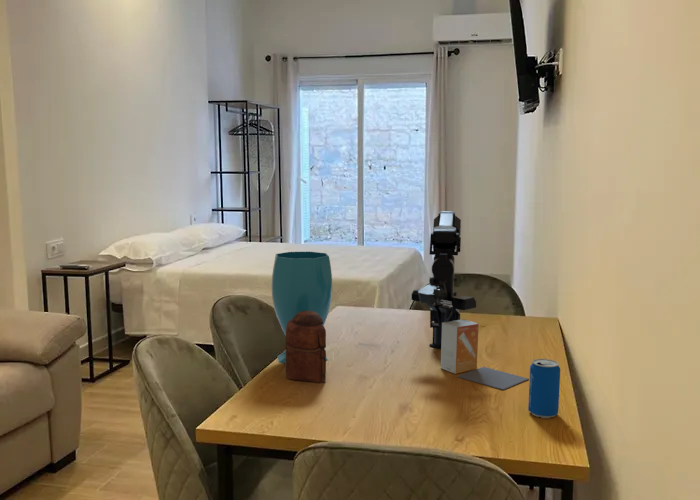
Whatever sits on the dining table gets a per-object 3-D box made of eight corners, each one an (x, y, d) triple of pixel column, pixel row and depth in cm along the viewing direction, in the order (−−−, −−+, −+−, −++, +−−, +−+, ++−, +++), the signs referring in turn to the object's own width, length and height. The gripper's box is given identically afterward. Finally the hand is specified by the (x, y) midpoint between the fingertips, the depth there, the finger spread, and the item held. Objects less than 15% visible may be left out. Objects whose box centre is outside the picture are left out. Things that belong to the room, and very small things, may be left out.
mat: (457, 377, 173) (457, 375, 172) (483, 367, 181) (483, 366, 181) (503, 390, 163) (503, 389, 162) (528, 379, 171) (528, 378, 171)
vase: (336, 365, 182) (336, 258, 178) (273, 368, 179) (272, 259, 175) (327, 348, 199) (328, 250, 195) (270, 350, 196) (270, 251, 192)
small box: (455, 374, 175) (457, 327, 173) (439, 368, 180) (441, 322, 178) (477, 369, 179) (479, 323, 177) (461, 363, 184) (463, 318, 183)
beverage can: (524, 409, 150) (526, 358, 148) (551, 408, 150) (553, 358, 149) (534, 420, 144) (536, 367, 142) (562, 419, 144) (565, 366, 143)
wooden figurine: (332, 377, 172) (332, 310, 169) (323, 384, 166) (324, 315, 163) (290, 372, 175) (290, 306, 173) (280, 380, 169) (280, 311, 167)
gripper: (398, 273, 182) (397, 327, 184) (452, 281, 168) (451, 340, 170) (424, 268, 189) (423, 321, 191) (478, 277, 176) (476, 333, 178)
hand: (442, 329), depth 183 cm, fingers closed
